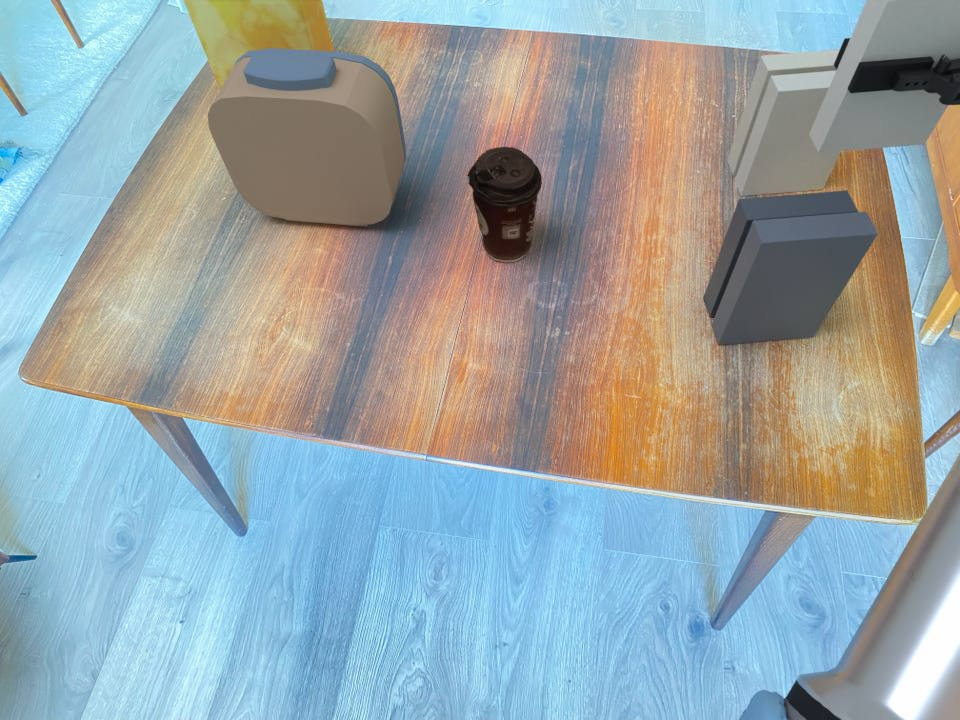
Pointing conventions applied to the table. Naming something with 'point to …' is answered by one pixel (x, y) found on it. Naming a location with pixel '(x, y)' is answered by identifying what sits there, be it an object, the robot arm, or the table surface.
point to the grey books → (785, 265)
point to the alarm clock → (311, 135)
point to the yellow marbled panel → (256, 28)
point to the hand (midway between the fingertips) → (848, 65)
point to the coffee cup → (505, 201)
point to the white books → (783, 126)
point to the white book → (888, 114)
